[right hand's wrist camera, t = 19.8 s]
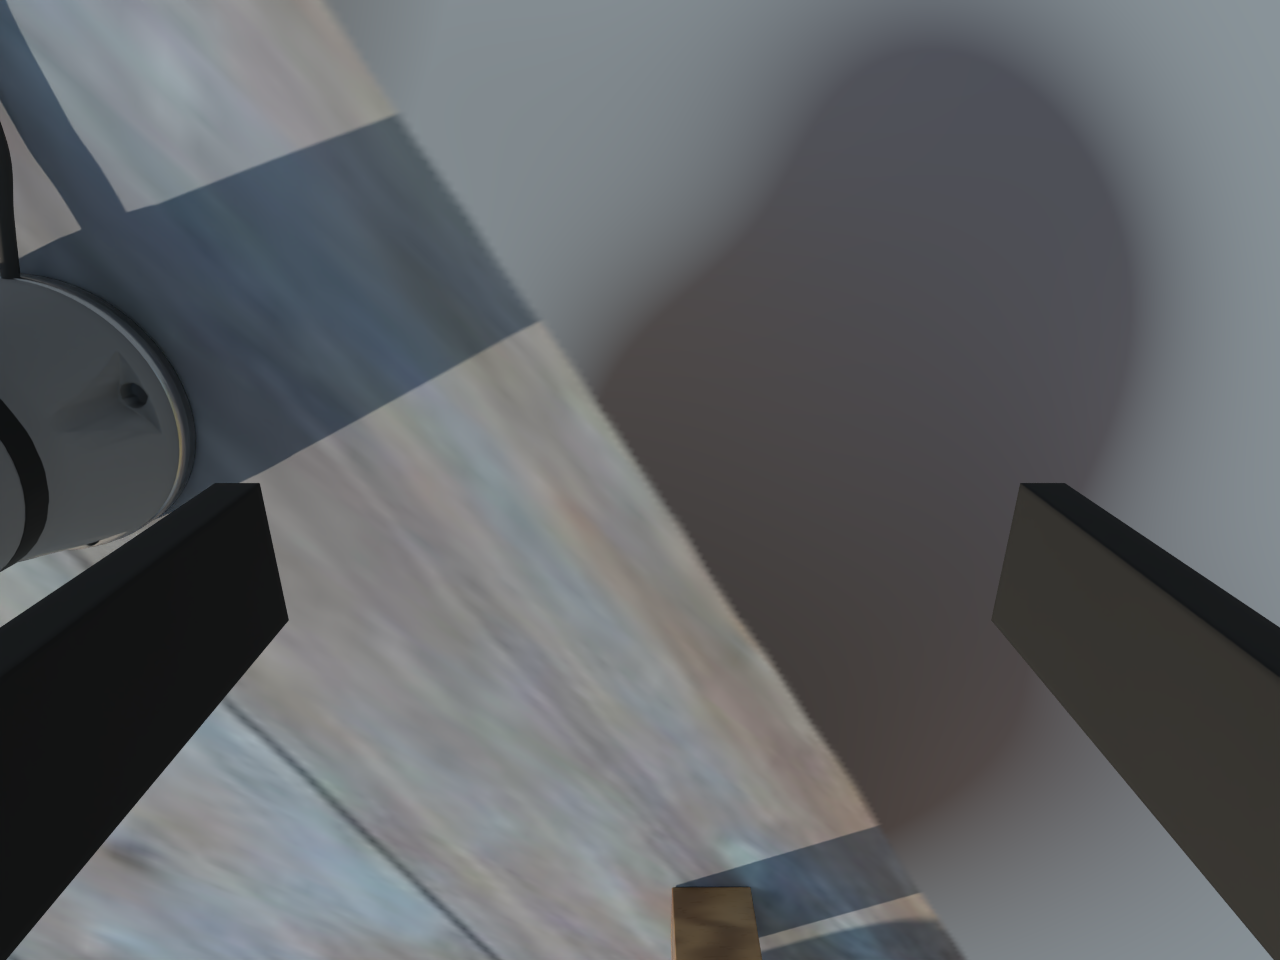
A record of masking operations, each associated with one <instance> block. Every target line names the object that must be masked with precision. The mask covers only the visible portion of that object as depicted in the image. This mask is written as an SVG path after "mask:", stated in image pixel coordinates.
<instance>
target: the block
mask: <svg viewBox="0 0 1280 960" xmlns="http://www.w3.org/2000/svg"><path fill="white" fill-rule="evenodd" d="M671 953H672V960H762V956H761V950H760V944H759V937H758V931H757V925H756V919H755V913H754V906H753V900H752V894H751V888H750V887H673V888H672V920H671Z"/></svg>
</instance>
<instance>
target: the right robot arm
mask: <svg viewBox="0 0 1280 960" xmlns="http://www.w3.org/2000/svg"><path fill="white" fill-rule="evenodd" d="M0 273H1V274H0V572H1V571H3V570H4V569H6V568H8V567H10V566H12V565H13V564H15V563H17V562H20V561H25V560H29V559H32V558H36V557H39V556H43V555H48V554H52V553H56V552H60V551H64V550H75V549H83V548H88V547H94V546H99V545H102V544H106V543H109V542H112V541H114V540H117V539H120V538H123V537H125V536H127V535H130V534H132V533H134V532H135V531H137V530H139V529H141V528H142V527H144V526H145V525H147V524H148V523H150V522H151V521H153V520H154V519H156V518H157V517H159V516H160V515H161V514H162V513H164V512H165V511H166V510H167V509H168V508H169V507H170V506H171V505H172V504H173V503H174V502H175V501H176V500H177V498H178V497H179V496H180V494H181V493H182V491H183V489H184V488H185V486H186V484H187V481H188V479H189V477H190V474H191V470H192V467H193V462H194V457H195V445H196V440H195V427H194V420H193V415H192V412H191V408H190V404H189V401H188V399H187V396H186V393H185V391H184V388H183V386H182V384H181V382H180V380H179V378H178V376H177V374H176V373H175V371H174V369H173V367H172V366H171V364H170V363H169V361H168V360H167V358H166V357H165V355H164V354H163V353H162V352H161V350H160V349H159V348H158V347H157V345H156V344H155V343H154V342H153V341H152V340H151V339H150V337H149V336H148V335H147V334H146V333H145V332H144V331H143V330H142V329H141V328H140V327H139V326H137V325H136V324H135V323H134V322H133V321H132V320H131V319H129V318H128V317H127V316H126V315H124V314H123V313H122V312H121V311H119V310H118V309H116V308H115V307H113V306H112V305H110V304H109V303H107V302H106V301H104V300H102V299H100V298H99V297H97V296H95V295H93V294H92V293H89V292H87V291H85V290H83V289H81V288H79V287H76V286H73V285H71V284H68V283H65V282H62V281H59V280H55V279H51V278H48V277H42V276H37V275H29V274H20V268H19V259H18V249H17V240H16V230H15V220H14V208H13V173H12V163H11V157H10V152H9V148H8V144H7V141H6V137H5V134H4V131H3V128H2V125H1V122H0ZM288 620H289V619H288V615H287V610H286V605H285V600H284V596H283V591H282V586H281V582H280V577H279V572H278V567H277V563H276V558H275V553H274V549H273V544H272V539H271V534H270V530H269V525H268V520H267V516H266V511H265V506H264V501H263V497H262V492H261V487H260V483H215V484H213V485H212V486H210V487H209V488H207V489H206V490H204V491H203V492H201V493H200V494H198V495H197V496H195V497H194V498H192V499H191V500H189V501H188V502H187V503H185V504H184V505H182V506H181V507H179V508H178V509H176V510H175V511H173V512H172V513H170V514H169V515H167V516H166V517H164V518H163V519H161V520H160V521H158V522H157V523H155V524H154V525H152V526H151V527H149V528H148V529H146V530H145V531H143V532H142V533H140V534H139V535H137V536H136V537H134V538H133V539H131V540H130V541H128V542H127V543H125V544H124V545H122V546H121V547H120V548H118V549H117V550H115V551H114V552H112V553H111V554H109V555H108V556H106V557H105V558H103V559H102V560H100V561H99V562H97V563H96V564H94V565H93V566H91V567H90V568H88V569H87V570H85V571H84V572H82V573H81V574H79V575H78V576H76V577H75V578H73V579H72V580H70V581H69V582H67V583H66V584H64V585H63V586H61V587H60V588H58V589H57V590H55V591H54V592H52V593H51V594H50V595H48V596H47V597H45V598H44V599H42V600H41V601H39V602H38V603H36V604H35V605H33V606H32V607H30V608H29V609H27V610H26V611H24V612H23V613H21V614H20V615H18V616H17V617H15V618H14V619H12V620H11V621H9V622H8V623H6V624H5V625H3V626H2V627H0V960H6V959H7V958H8V957H9V956H10V954H11V953H12V952H13V951H14V950H15V948H16V947H17V946H18V945H19V944H20V942H21V941H22V940H23V939H24V938H25V936H26V935H27V934H28V933H29V932H30V930H31V929H32V928H33V927H34V926H35V924H36V923H37V922H38V921H39V920H40V918H41V917H42V916H43V915H44V914H45V912H46V911H47V910H48V909H49V908H50V906H51V905H52V904H53V903H54V902H55V900H56V899H57V898H58V897H59V896H60V894H61V893H62V892H63V891H64V890H65V888H66V887H67V886H68V885H69V884H70V882H71V881H72V880H73V879H74V878H75V876H76V875H77V874H78V873H79V872H80V870H81V869H82V868H83V867H84V866H85V864H86V863H87V862H88V861H89V860H90V858H91V857H92V856H93V855H94V854H95V852H96V851H97V850H98V849H99V848H100V846H101V845H102V844H103V843H104V842H105V840H106V839H107V838H108V837H109V836H110V834H111V833H112V832H113V831H114V830H115V828H116V827H117V826H118V825H119V824H120V822H121V821H122V820H123V819H124V817H125V816H126V815H127V814H128V813H129V811H130V810H131V809H132V808H133V807H134V805H135V804H136V803H137V802H138V801H139V799H140V798H141V797H142V796H143V795H144V793H145V792H146V791H147V790H148V789H149V787H150V786H151V785H152V784H153V783H154V781H155V780H156V779H157V778H158V777H159V775H160V774H161V773H162V772H163V771H164V769H165V768H166V767H167V766H168V765H169V763H170V762H171V761H172V760H173V759H174V757H175V756H176V755H177V754H178V753H179V751H180V750H181V749H182V748H183V747H184V745H185V744H186V743H187V742H188V741H189V739H190V738H191V737H192V736H193V735H194V733H195V732H196V731H197V730H198V729H199V727H200V726H201V725H202V724H203V723H204V721H205V720H206V719H207V718H208V717H209V715H210V714H211V713H212V712H213V711H214V709H215V708H216V707H217V706H218V705H219V703H220V702H221V701H222V700H223V699H224V697H225V696H226V695H227V694H228V693H229V691H230V690H231V689H232V688H233V687H234V685H235V684H236V683H237V682H238V680H239V679H240V678H241V677H242V676H243V674H244V673H245V672H246V671H247V670H248V668H249V667H250V666H251V665H252V664H253V662H254V661H255V660H256V659H257V658H258V656H259V655H260V654H261V653H262V652H263V650H264V649H265V648H266V647H267V646H268V644H269V643H270V642H271V641H272V640H273V638H274V637H275V636H276V635H277V634H278V632H279V631H280V630H281V629H282V628H283V626H284V625H285V624H286V623H287V622H288ZM991 620H992V622H993V623H994V624H995V625H996V626H997V628H998V629H999V630H1000V631H1001V632H1002V633H1003V635H1004V636H1005V637H1006V638H1007V640H1008V641H1009V642H1010V643H1011V644H1012V646H1013V647H1014V648H1015V649H1016V650H1017V652H1018V653H1019V654H1020V655H1021V656H1022V658H1023V659H1024V660H1025V661H1026V662H1027V664H1028V665H1029V666H1030V667H1031V668H1032V670H1033V671H1034V672H1035V673H1036V674H1037V676H1038V677H1039V678H1040V679H1041V680H1042V682H1043V683H1044V684H1045V685H1046V687H1047V688H1048V689H1049V690H1050V691H1051V692H1052V694H1053V695H1054V696H1055V697H1056V698H1057V700H1058V701H1059V702H1060V703H1061V705H1062V706H1063V707H1064V708H1065V709H1066V710H1067V712H1068V713H1069V714H1070V715H1071V717H1072V718H1073V719H1074V720H1075V721H1076V723H1077V724H1078V725H1079V726H1080V727H1081V729H1082V730H1083V731H1084V732H1085V733H1086V735H1087V736H1088V737H1089V738H1090V739H1091V741H1092V742H1093V743H1094V744H1095V745H1096V747H1097V748H1098V749H1099V750H1100V751H1101V753H1102V754H1103V755H1104V756H1105V757H1106V759H1107V760H1108V761H1109V762H1110V763H1111V765H1112V766H1113V767H1114V768H1115V769H1116V771H1117V772H1118V773H1119V774H1120V775H1121V777H1122V778H1123V779H1124V780H1125V781H1126V783H1127V784H1128V785H1129V786H1130V787H1131V789H1132V790H1133V791H1134V792H1135V793H1136V795H1137V796H1138V797H1139V798H1140V799H1141V801H1142V802H1143V803H1144V804H1145V805H1146V807H1147V808H1148V809H1149V810H1150V811H1151V813H1152V814H1153V815H1154V816H1155V817H1156V819H1157V820H1158V821H1159V822H1160V824H1161V825H1162V826H1163V827H1164V828H1165V829H1166V831H1167V832H1168V833H1169V834H1170V836H1171V837H1172V838H1173V839H1174V840H1175V841H1176V843H1177V844H1178V845H1179V846H1180V848H1181V849H1182V850H1183V851H1184V852H1185V854H1186V855H1187V856H1188V857H1189V858H1190V860H1191V861H1192V862H1193V863H1194V864H1195V866H1196V867H1197V868H1198V869H1199V870H1200V872H1201V873H1202V874H1203V875H1204V876H1205V878H1206V879H1207V880H1208V881H1209V882H1210V884H1211V885H1212V886H1213V887H1214V888H1215V890H1216V891H1217V892H1218V893H1219V894H1220V896H1221V897H1222V898H1223V899H1224V900H1225V902H1226V903H1227V904H1228V905H1229V906H1230V908H1231V909H1232V910H1233V911H1234V912H1235V914H1236V915H1237V916H1238V917H1239V918H1240V920H1241V921H1242V922H1243V923H1244V924H1245V926H1246V927H1247V928H1248V929H1249V930H1250V932H1251V933H1252V934H1253V935H1254V936H1255V938H1256V939H1257V940H1258V941H1259V942H1260V944H1261V945H1262V946H1263V947H1264V948H1265V950H1266V951H1267V952H1268V953H1269V954H1270V956H1271V957H1272V958H1273V959H1274V960H1280V627H1278V626H1277V625H1275V624H1274V623H1272V622H1271V621H1269V620H1268V619H1266V618H1265V617H1263V616H1262V615H1260V614H1259V613H1257V612H1256V611H1254V610H1253V609H1251V608H1250V607H1248V606H1247V605H1245V604H1244V603H1242V602H1241V601H1239V600H1238V599H1236V598H1235V597H1233V596H1232V595H1230V594H1229V593H1228V592H1226V591H1224V590H1223V589H1221V588H1220V587H1219V586H1217V585H1216V584H1214V583H1213V582H1211V581H1210V580H1208V579H1207V578H1205V577H1204V576H1202V575H1201V574H1199V573H1198V572H1196V571H1195V570H1193V569H1192V568H1190V567H1189V566H1187V565H1186V564H1184V563H1183V562H1181V561H1180V560H1178V559H1177V558H1175V557H1174V556H1172V555H1171V554H1169V553H1168V552H1166V551H1165V550H1163V549H1162V548H1160V547H1159V546H1158V545H1156V544H1155V543H1153V542H1152V541H1150V540H1149V539H1147V538H1146V537H1144V536H1143V535H1141V534H1140V533H1138V532H1137V531H1135V530H1134V529H1132V528H1131V527H1129V526H1128V525H1126V524H1125V523H1123V522H1122V521H1120V520H1119V519H1117V518H1116V517H1114V516H1113V515H1111V514H1110V513H1108V512H1107V511H1105V510H1104V509H1102V508H1101V507H1099V506H1098V505H1096V504H1095V503H1093V502H1092V501H1091V500H1089V499H1087V498H1086V497H1085V496H1083V495H1082V494H1080V493H1079V492H1077V491H1076V490H1074V489H1073V488H1071V487H1070V486H1068V485H1067V484H1065V483H1020V487H1019V492H1018V497H1017V501H1016V506H1015V511H1014V516H1013V520H1012V525H1011V530H1010V534H1009V539H1008V544H1007V549H1006V554H1005V558H1004V563H1003V568H1002V572H1001V577H1000V582H999V586H998V591H997V596H996V600H995V605H994V610H993V615H992V619H991Z"/></svg>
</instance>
